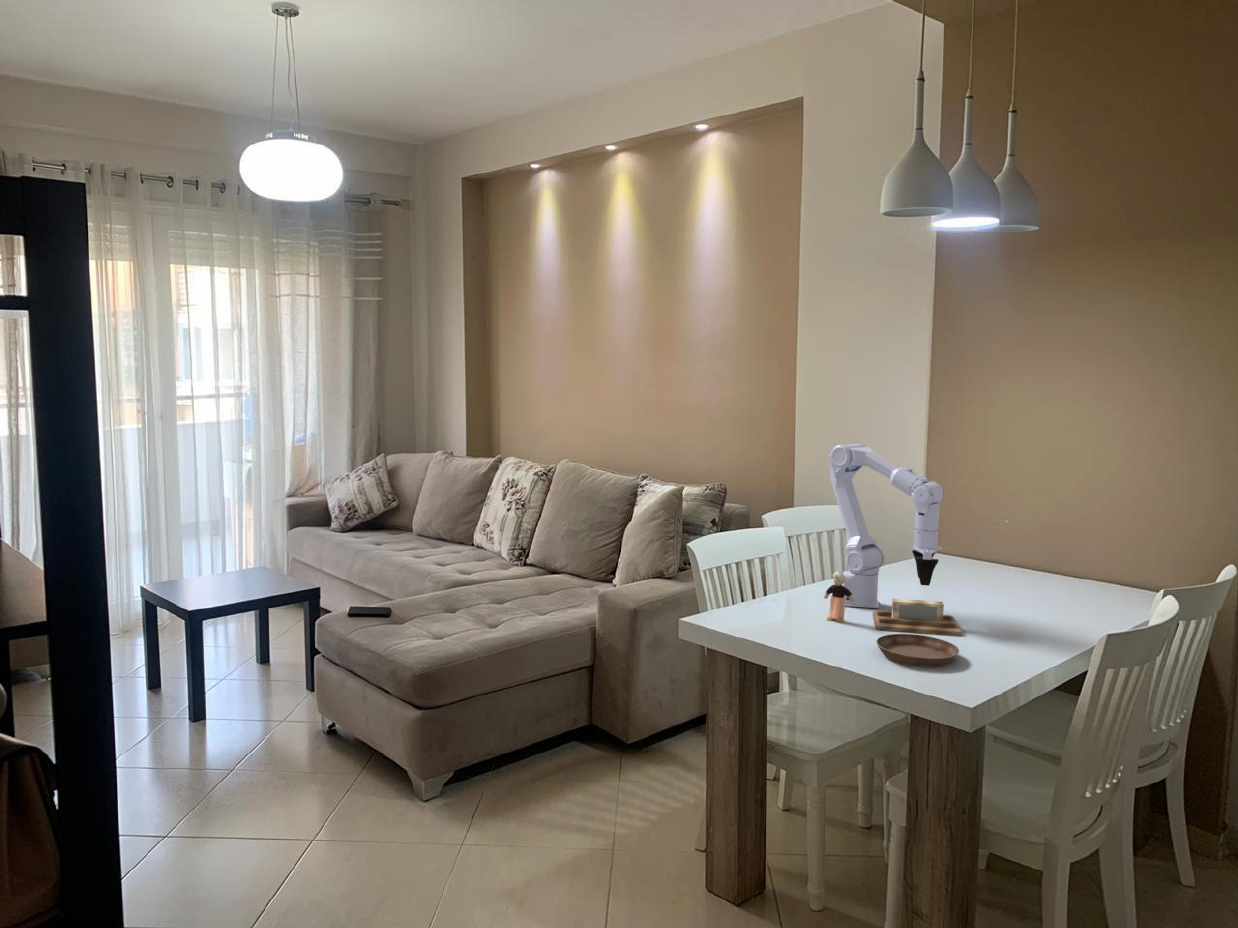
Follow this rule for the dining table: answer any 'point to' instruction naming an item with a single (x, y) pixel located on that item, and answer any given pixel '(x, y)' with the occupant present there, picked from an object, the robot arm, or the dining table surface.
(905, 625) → the picture ledge
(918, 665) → the plant saucer
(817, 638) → the dining table surface
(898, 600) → the beige long rectangular block
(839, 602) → the grandmother figurine
